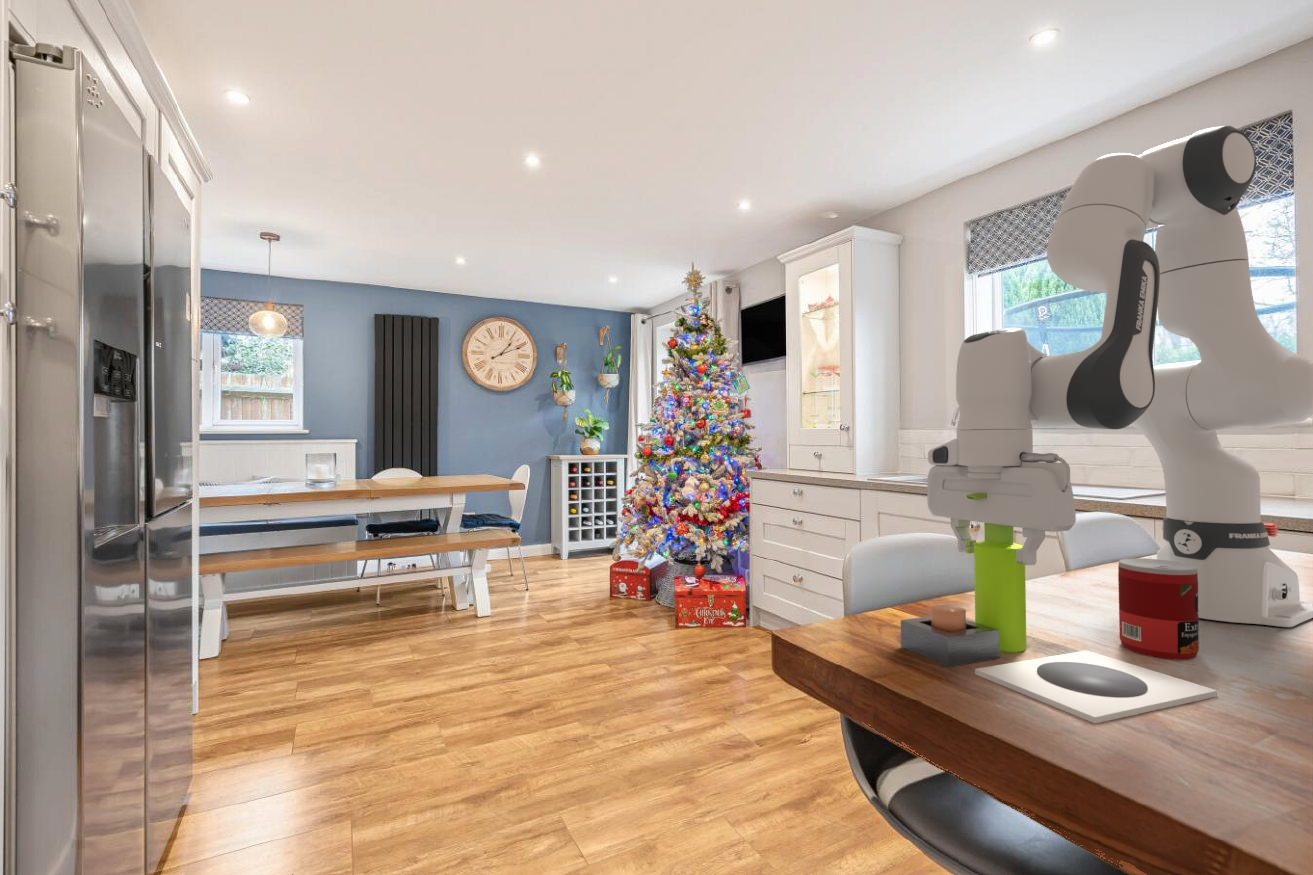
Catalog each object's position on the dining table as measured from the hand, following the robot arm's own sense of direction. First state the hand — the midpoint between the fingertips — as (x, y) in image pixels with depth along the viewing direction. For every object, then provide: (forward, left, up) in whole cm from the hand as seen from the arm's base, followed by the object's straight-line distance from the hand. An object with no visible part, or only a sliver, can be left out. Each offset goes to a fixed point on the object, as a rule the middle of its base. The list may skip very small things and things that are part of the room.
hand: (995, 558), depth 84 cm
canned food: (-17, +9, -12) cm, 22 cm away
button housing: (+8, 0, -11) cm, 14 cm away
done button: (+8, 0, -9) cm, 12 cm away
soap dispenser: (0, 0, -12) cm, 12 cm away
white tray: (+2, +14, -11) cm, 18 cm away
